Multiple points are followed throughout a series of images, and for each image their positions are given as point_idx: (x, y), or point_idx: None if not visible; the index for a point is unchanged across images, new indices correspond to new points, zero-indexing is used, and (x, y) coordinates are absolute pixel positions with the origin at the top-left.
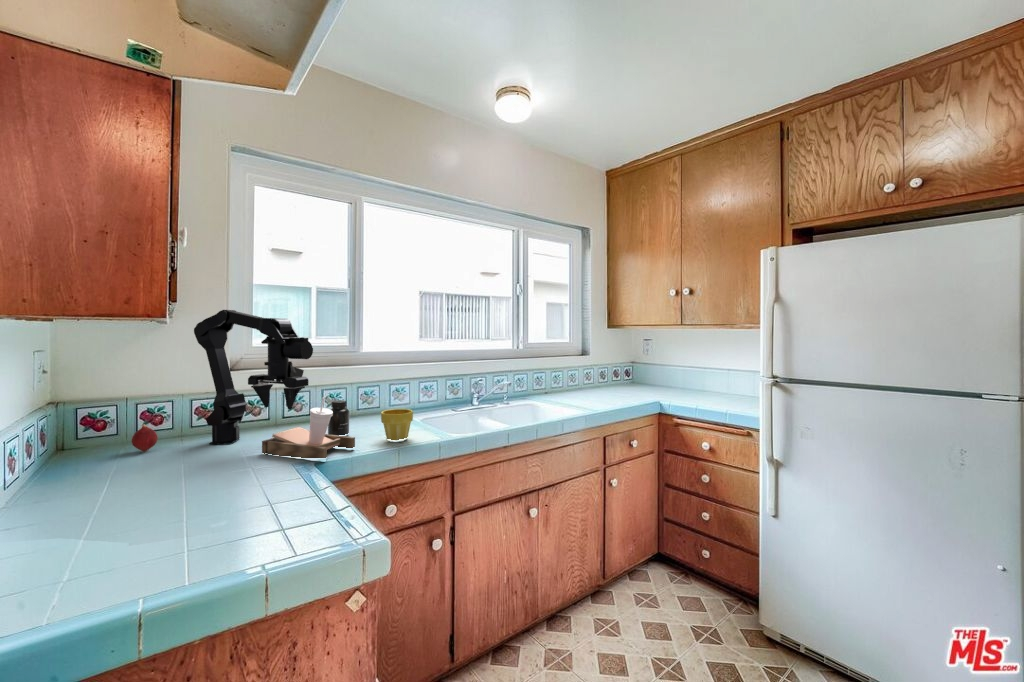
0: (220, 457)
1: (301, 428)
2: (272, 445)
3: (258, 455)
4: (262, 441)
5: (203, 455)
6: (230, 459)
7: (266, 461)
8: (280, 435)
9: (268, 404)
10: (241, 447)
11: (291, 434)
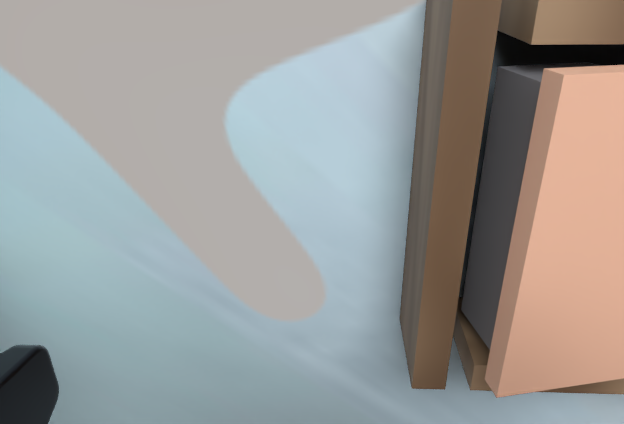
0: (219, 412)
1: (615, 91)
2: None
3: (391, 334)
4: (415, 384)
5: (98, 413)
6: (305, 421)
7: (532, 396)
8: (560, 366)
9: (14, 381)
10: (112, 243)
11: (619, 286)
